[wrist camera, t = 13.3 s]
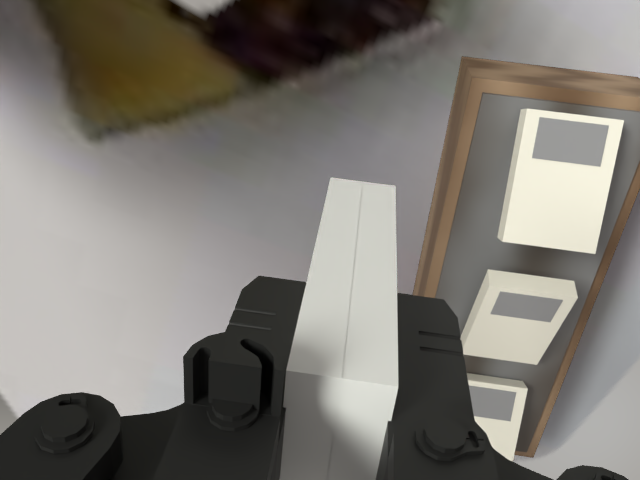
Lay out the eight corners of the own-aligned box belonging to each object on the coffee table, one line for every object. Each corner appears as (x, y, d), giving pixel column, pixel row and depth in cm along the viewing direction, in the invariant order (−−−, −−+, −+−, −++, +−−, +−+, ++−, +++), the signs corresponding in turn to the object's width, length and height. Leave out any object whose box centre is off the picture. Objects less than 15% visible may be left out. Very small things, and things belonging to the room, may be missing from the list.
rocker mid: (459, 338, 44) (460, 354, 43) (487, 269, 39) (489, 286, 38) (534, 348, 44) (537, 365, 43) (574, 280, 38) (578, 298, 37)
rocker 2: (497, 237, 37) (502, 241, 36) (520, 109, 36) (527, 108, 34) (586, 249, 37) (595, 254, 36) (614, 120, 36) (624, 120, 34)
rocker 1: (434, 462, 48) (436, 472, 46) (450, 370, 46) (453, 378, 45) (504, 473, 47) (508, 483, 46) (522, 380, 46) (528, 389, 44)
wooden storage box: (393, 388, 56) (393, 447, 50) (462, 56, 41) (474, 82, 35) (522, 406, 56) (539, 469, 49) (641, 77, 40) (687, 107, 34)
